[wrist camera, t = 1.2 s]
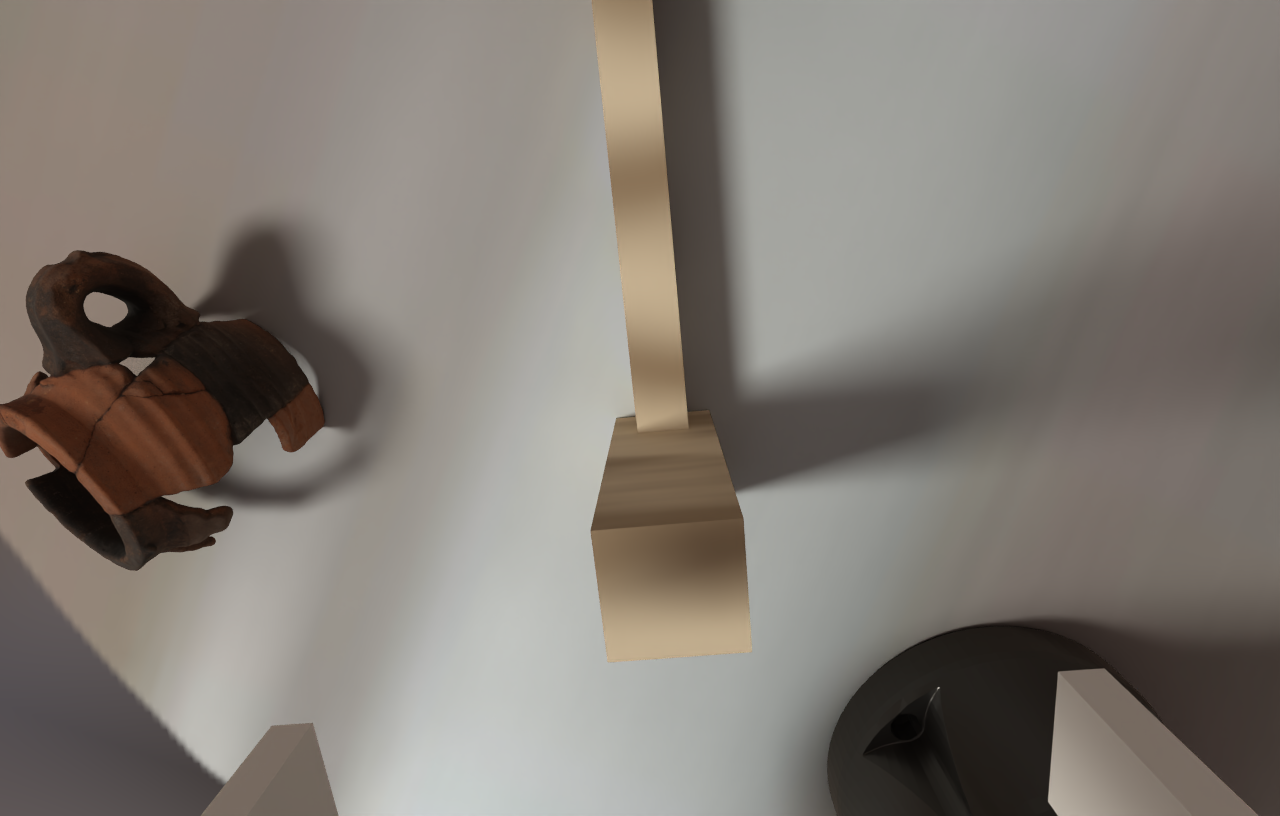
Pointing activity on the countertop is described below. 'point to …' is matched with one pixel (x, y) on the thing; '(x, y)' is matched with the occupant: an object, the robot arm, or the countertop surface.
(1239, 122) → the countertop surface
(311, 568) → the countertop surface
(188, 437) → the pottery mug
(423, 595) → the countertop surface
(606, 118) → the wooden mallet
